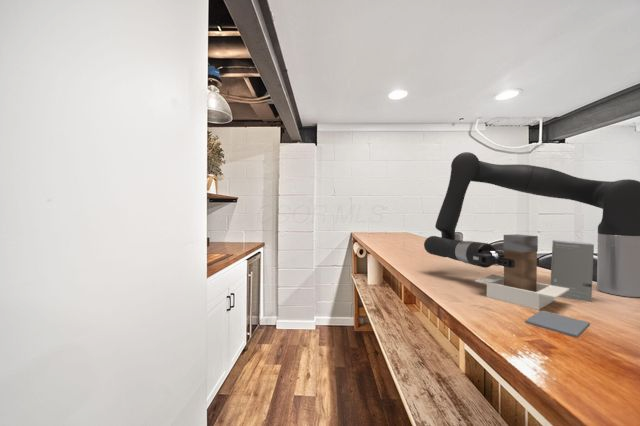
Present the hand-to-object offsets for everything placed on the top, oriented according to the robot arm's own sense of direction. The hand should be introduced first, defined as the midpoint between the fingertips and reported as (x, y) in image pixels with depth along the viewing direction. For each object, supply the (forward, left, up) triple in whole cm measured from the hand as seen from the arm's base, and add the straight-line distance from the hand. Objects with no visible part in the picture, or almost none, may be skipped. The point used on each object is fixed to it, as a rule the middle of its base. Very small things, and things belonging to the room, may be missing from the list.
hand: (526, 263), depth 69 cm
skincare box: (-16, +6, -11) cm, 20 cm away
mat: (+11, +9, -11) cm, 18 cm away
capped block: (-1, -1, -10) cm, 10 cm away
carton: (-1, -1, -11) cm, 11 cm away
